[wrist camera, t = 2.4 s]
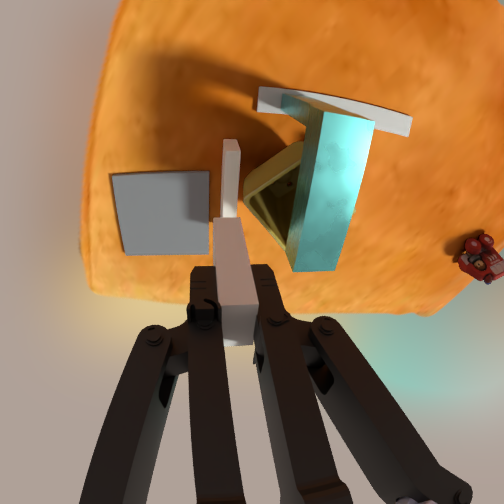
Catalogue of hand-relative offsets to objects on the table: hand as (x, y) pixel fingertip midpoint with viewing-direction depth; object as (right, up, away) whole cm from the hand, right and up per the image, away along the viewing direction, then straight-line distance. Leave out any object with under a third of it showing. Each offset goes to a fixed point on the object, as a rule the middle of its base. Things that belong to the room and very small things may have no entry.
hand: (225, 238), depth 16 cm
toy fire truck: (+51, 0, +32) cm, 60 cm away
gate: (+6, +11, +15) cm, 19 cm away
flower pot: (+5, +9, +18) cm, 20 cm away
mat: (-10, +4, +19) cm, 21 cm away
